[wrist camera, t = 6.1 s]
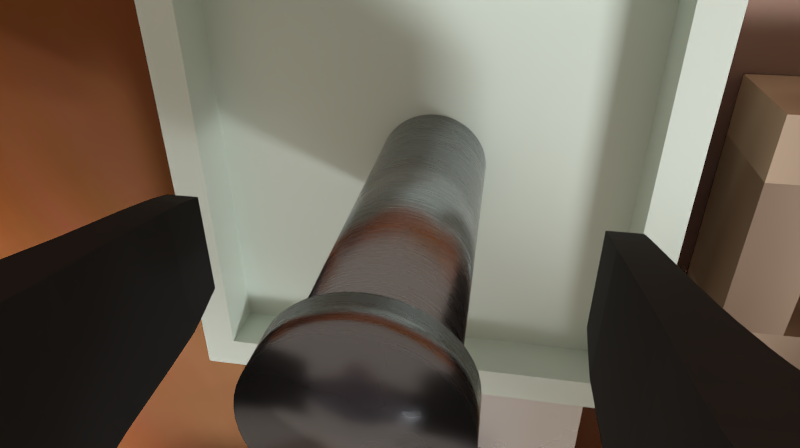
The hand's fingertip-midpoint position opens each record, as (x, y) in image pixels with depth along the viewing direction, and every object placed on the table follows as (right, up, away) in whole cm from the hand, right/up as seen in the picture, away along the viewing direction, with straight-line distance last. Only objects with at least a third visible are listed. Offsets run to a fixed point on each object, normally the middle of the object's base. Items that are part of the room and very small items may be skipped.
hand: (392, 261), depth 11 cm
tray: (+1, +2, +4) cm, 4 cm away
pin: (+1, +2, +3) cm, 4 cm away
